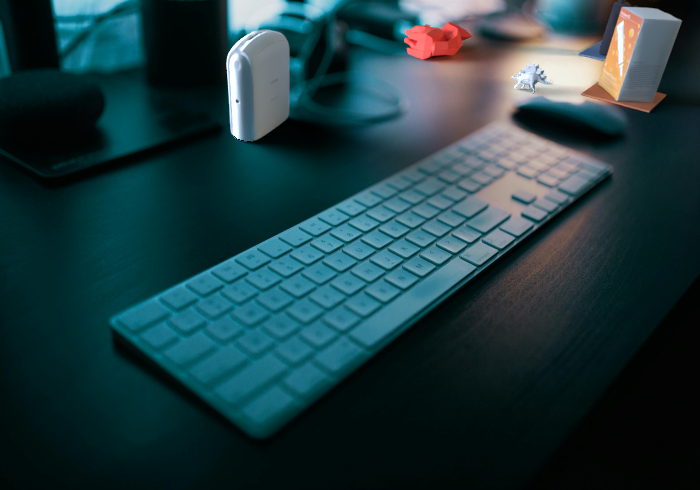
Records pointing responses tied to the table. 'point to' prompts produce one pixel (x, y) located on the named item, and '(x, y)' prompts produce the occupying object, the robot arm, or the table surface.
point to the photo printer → (258, 84)
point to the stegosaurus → (531, 77)
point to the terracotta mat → (602, 94)
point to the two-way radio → (612, 25)
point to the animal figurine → (435, 40)
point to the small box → (638, 53)
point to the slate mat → (593, 52)
